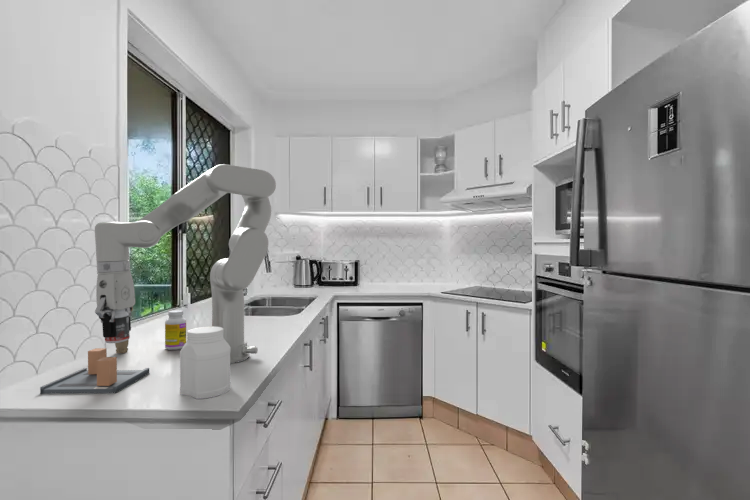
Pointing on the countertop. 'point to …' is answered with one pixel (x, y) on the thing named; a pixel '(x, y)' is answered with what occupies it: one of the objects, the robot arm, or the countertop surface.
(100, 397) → the countertop surface
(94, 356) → the orange rectangular block
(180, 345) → the supplement bottle
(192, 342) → the jar
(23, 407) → the countertop surface
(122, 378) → the grey tray
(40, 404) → the countertop surface
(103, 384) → the tab
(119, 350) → the handle
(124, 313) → the pill bottle
